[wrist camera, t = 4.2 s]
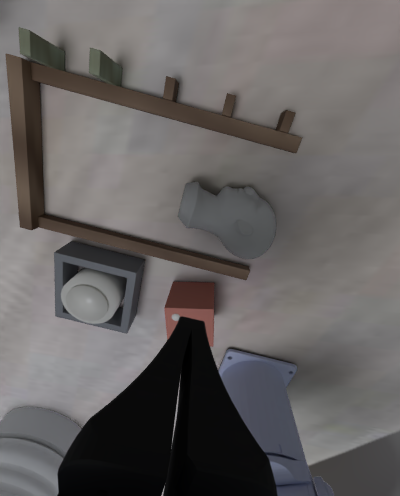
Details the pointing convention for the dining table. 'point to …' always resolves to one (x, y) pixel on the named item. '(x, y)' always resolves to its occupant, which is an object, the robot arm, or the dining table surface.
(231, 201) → the smooth white sculpture
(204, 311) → the die
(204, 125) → the brown wooden frame
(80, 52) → the dining table surface
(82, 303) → the dome button
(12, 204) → the dining table surface
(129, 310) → the grey square tray
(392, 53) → the dining table surface
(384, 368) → the dining table surface
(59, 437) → the honey pot
